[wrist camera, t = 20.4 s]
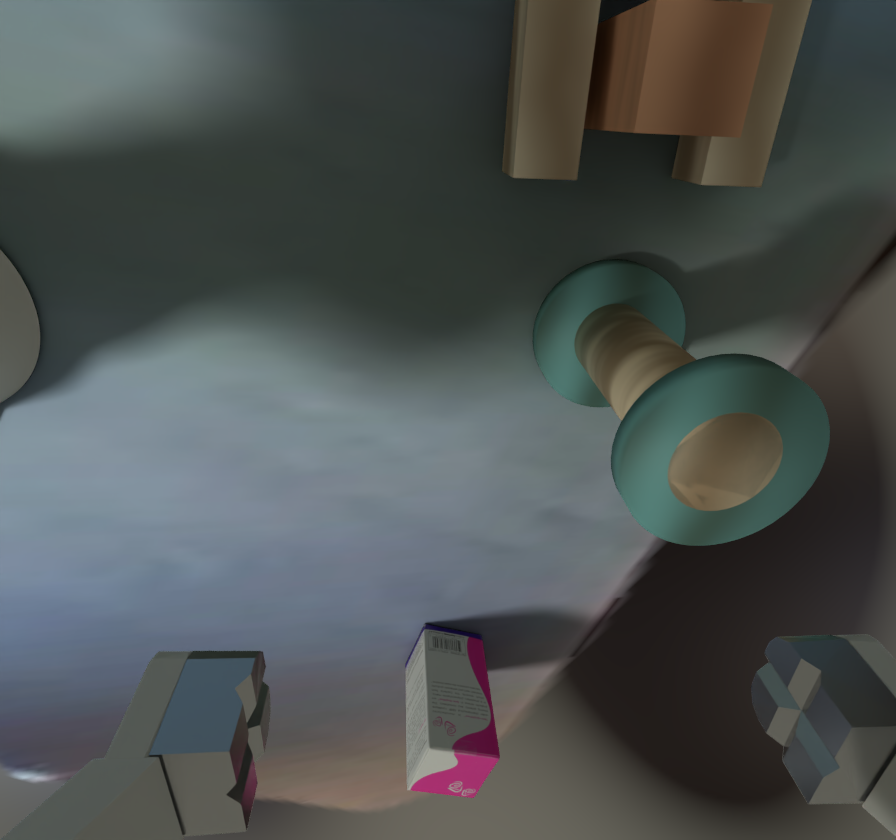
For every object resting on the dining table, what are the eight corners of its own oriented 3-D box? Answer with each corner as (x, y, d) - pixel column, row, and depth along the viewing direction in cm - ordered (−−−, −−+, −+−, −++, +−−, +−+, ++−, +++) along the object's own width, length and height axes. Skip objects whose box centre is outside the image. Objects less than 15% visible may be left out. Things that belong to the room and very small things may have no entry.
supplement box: (403, 666, 54) (403, 792, 44) (424, 621, 52) (429, 745, 42) (461, 676, 56) (474, 802, 45) (484, 634, 53) (503, 756, 43)
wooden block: (579, 128, 34) (633, 133, 26) (593, 25, 32) (657, -4, 24) (662, 132, 34) (740, 137, 26) (681, 31, 32) (773, 4, 24)
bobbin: (525, 397, 42) (593, 555, 27) (541, 257, 37) (634, 353, 22) (659, 398, 43) (797, 552, 28) (691, 261, 38) (878, 357, 23)
